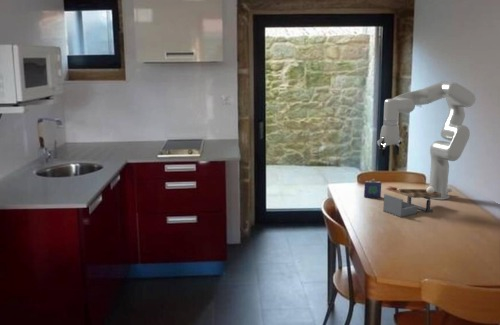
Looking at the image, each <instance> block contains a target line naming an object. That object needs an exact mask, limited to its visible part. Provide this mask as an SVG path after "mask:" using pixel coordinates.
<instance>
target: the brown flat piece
mask: <svg viewBox="0 0 500 325" xmlns="http://www.w3.org/2000/svg"><path fill="white" fill-rule="evenodd" d="M426 189H427V188H416V189H415V188H399V189H398V187H396V186H391V185H388V186H387V185H386V188H385V190H387V191H389V192H393V193H396V194H399V195H403V196H405V197H408V196H409V197H411V199H415V198H416V199H420V198H421V199H425V200H432V198H441V193H438V192H435V191H434V193H427V191H426Z"/></svg>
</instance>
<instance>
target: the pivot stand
mask: <svg viewBox="0 0 500 325" xmlns="http://www.w3.org/2000/svg"><path fill="white" fill-rule="evenodd" d="M431 202H432V199H430V200H428V199H426V206H425V207H423V206H421V205H417V204H414V203H412V197H409V196H407V201H406V203H409V204H412V205H416V206H418V207H417V211H420V212H423V213H427V214H428V213H432V212H433V209H431V205H432V204H431Z"/></svg>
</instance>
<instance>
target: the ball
mask: <svg viewBox="0 0 500 325" xmlns="http://www.w3.org/2000/svg"><path fill="white" fill-rule="evenodd" d="M425 189H426V191H427V193H434V188H433V187H431V186H430V187H429V186H428V187H427V188H425Z"/></svg>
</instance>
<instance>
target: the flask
mask: <svg viewBox="0 0 500 325" xmlns="http://www.w3.org/2000/svg"><path fill="white" fill-rule="evenodd" d="M375 179H376V178H372V179H371V180H365V181H364V192H363V197H364V198H366V199H380V198H382V181H375Z"/></svg>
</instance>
